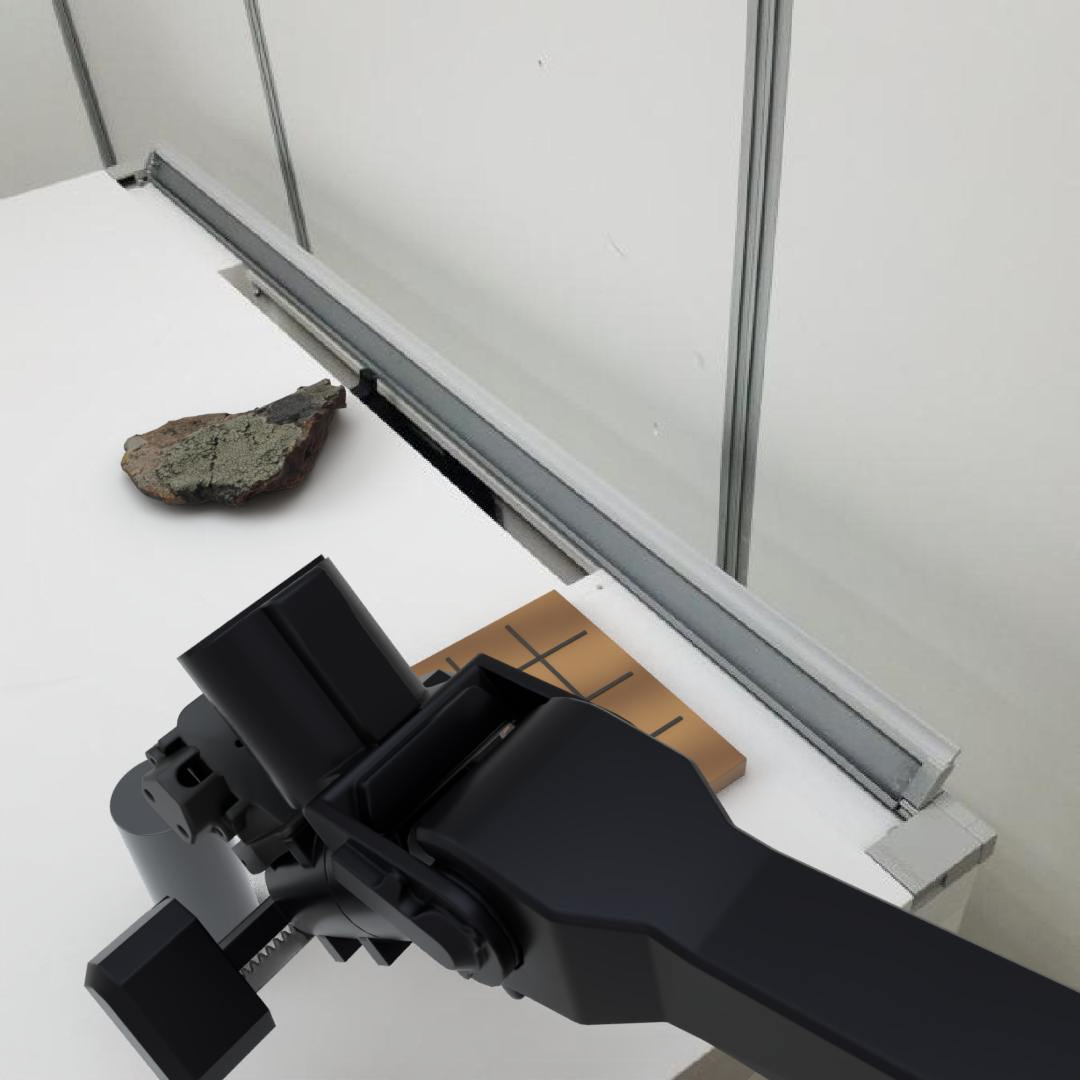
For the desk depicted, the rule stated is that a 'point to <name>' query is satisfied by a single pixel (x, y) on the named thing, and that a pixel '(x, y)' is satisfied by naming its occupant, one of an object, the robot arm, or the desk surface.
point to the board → (593, 678)
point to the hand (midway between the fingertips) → (260, 869)
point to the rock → (234, 449)
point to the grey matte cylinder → (181, 861)
